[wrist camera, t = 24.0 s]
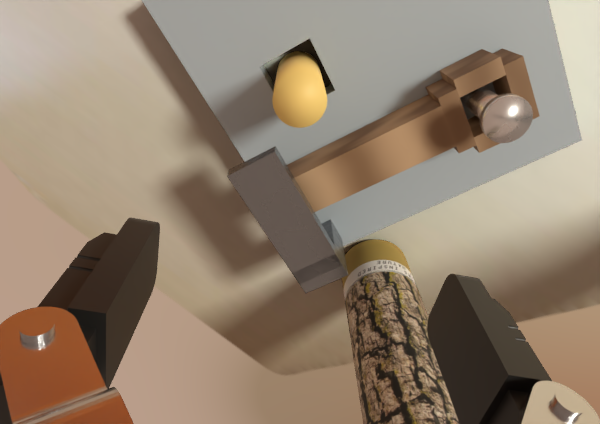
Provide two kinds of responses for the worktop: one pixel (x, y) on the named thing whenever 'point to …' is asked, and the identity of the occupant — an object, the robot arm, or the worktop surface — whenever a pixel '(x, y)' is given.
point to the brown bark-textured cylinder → (392, 340)
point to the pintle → (499, 114)
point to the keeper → (290, 220)
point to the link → (412, 130)
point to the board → (369, 83)
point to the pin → (299, 90)
